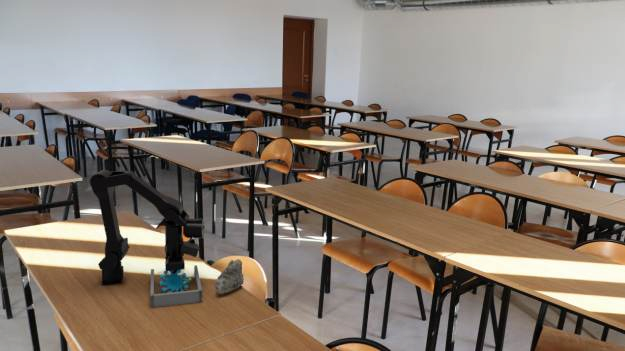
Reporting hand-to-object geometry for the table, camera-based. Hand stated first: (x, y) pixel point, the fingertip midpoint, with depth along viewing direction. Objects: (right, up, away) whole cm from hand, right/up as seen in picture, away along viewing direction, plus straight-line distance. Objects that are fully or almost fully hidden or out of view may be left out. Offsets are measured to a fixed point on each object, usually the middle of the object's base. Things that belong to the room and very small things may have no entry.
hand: (174, 277), depth 165 cm
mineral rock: (+19, -3, -2) cm, 20 cm away
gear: (+2, -4, -6) cm, 8 cm away
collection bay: (+2, -3, -6) cm, 7 cm away
